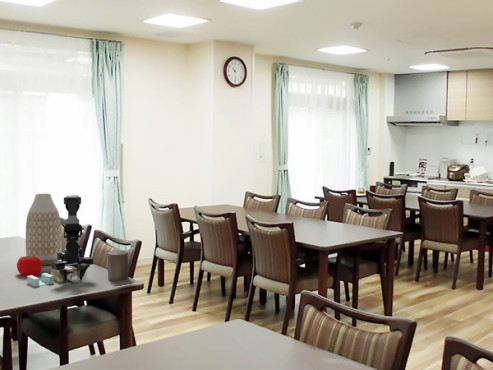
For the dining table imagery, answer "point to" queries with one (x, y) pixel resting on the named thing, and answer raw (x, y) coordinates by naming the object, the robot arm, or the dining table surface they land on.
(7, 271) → the dining table surface
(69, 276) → the axle
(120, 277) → the pillar candle
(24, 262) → the tomato
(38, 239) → the vase
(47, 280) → the cradle
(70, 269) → the open beige box
